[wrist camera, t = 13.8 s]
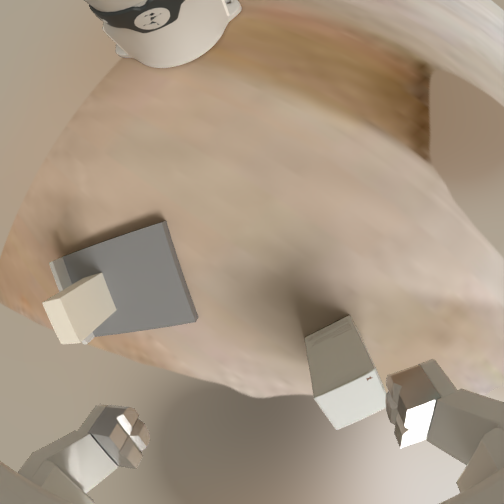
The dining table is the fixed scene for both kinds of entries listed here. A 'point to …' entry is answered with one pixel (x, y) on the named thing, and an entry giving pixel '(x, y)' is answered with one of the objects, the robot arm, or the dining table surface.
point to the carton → (80, 308)
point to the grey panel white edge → (133, 280)
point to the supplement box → (343, 374)
